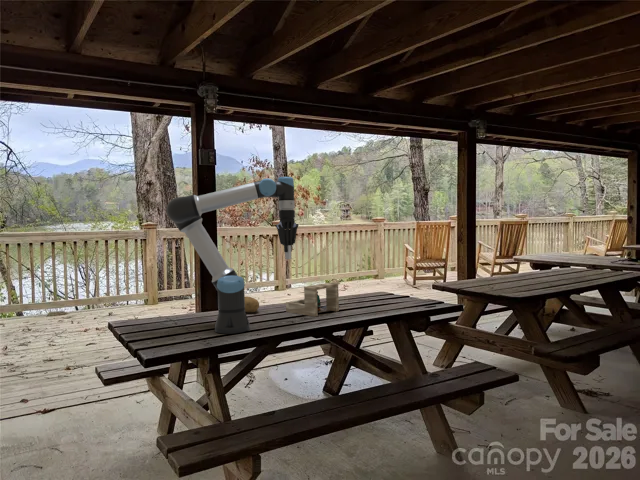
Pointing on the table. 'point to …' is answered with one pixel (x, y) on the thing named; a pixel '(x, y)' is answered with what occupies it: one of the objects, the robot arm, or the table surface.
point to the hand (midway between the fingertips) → (288, 258)
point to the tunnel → (315, 300)
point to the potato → (251, 304)
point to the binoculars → (317, 302)
